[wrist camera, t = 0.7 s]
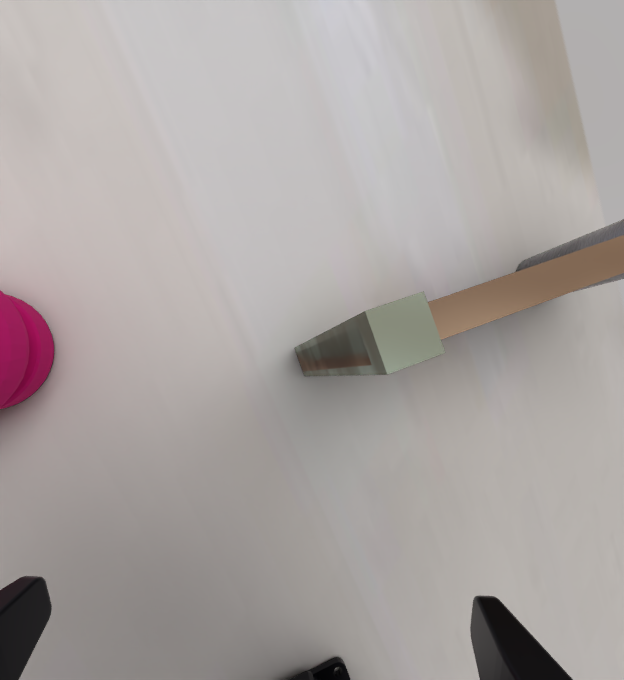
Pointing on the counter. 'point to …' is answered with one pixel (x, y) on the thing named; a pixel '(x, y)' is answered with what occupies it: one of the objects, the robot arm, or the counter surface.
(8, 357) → the pepper mill
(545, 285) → the gate
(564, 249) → the gate post
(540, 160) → the counter surface
